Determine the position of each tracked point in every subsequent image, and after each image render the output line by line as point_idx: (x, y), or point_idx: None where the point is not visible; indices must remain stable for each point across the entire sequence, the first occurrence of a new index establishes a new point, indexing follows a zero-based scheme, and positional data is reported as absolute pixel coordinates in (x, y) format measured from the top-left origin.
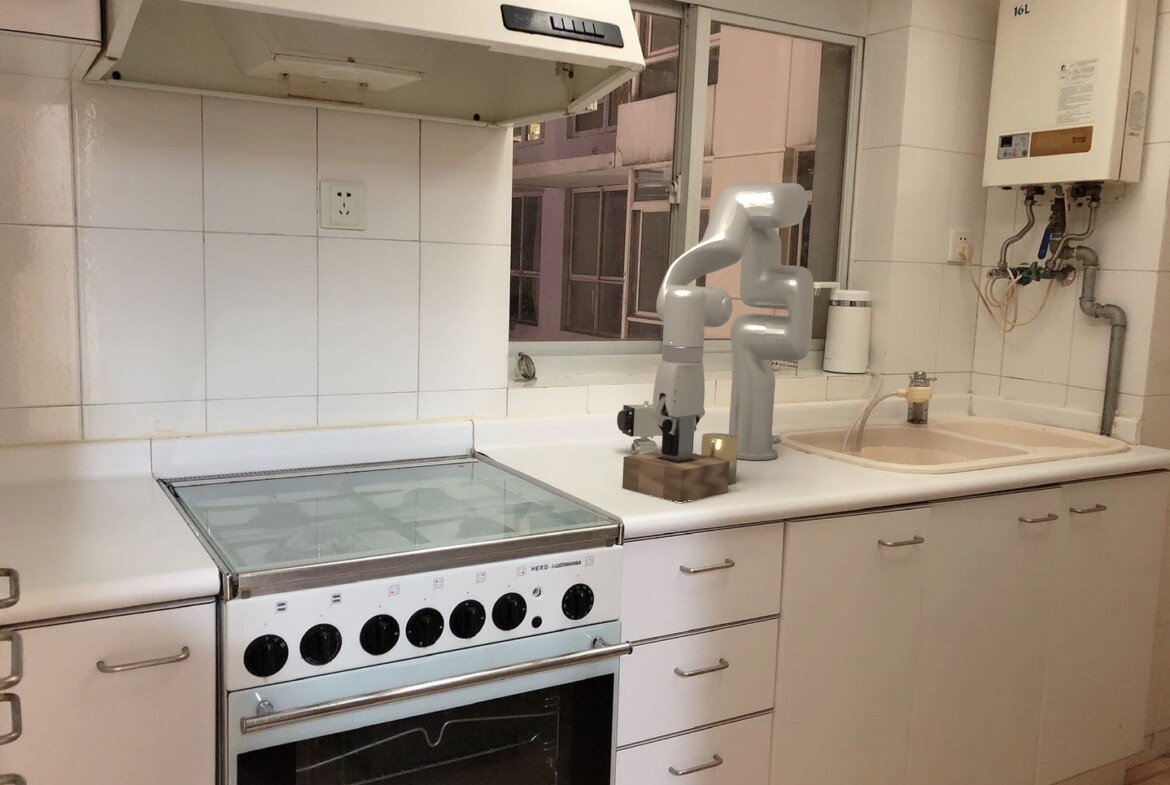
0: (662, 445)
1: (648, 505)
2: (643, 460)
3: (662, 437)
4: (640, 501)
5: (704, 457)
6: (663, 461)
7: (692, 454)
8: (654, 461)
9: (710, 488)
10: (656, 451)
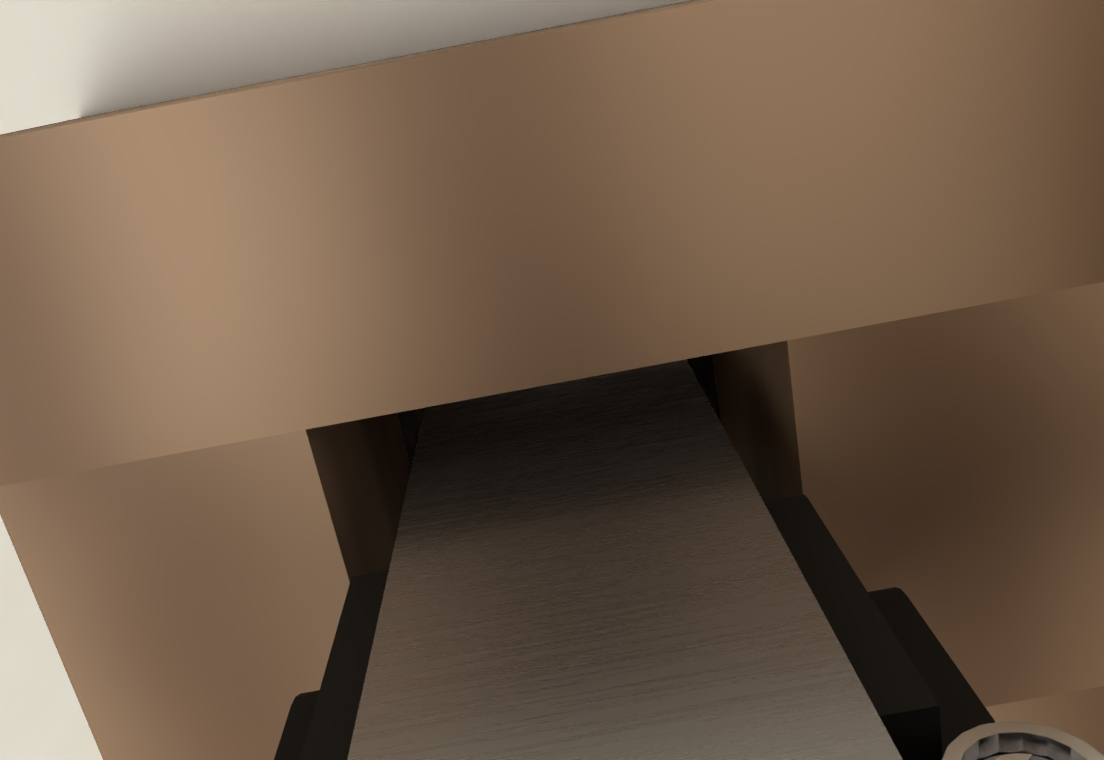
0: (337, 652)
1: (6, 726)
2: (49, 505)
3: (309, 740)
4: (3, 606)
5: (1003, 656)
6: (299, 652)
7: (1020, 449)
8: (175, 609)
9: None
10: (672, 23)
